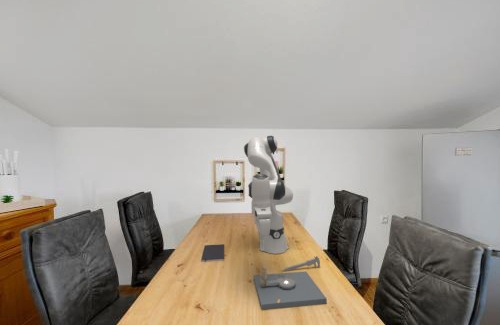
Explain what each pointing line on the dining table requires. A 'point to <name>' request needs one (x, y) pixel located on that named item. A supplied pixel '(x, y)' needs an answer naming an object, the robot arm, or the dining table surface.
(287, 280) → the wooden knob lever
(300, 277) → the base plate
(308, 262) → the caliper
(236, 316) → the dining table surface
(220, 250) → the notebook
